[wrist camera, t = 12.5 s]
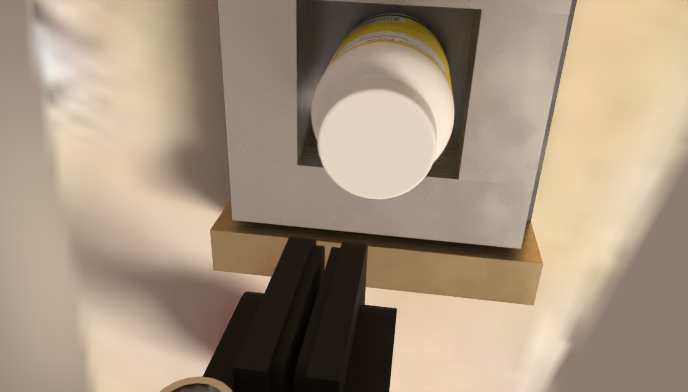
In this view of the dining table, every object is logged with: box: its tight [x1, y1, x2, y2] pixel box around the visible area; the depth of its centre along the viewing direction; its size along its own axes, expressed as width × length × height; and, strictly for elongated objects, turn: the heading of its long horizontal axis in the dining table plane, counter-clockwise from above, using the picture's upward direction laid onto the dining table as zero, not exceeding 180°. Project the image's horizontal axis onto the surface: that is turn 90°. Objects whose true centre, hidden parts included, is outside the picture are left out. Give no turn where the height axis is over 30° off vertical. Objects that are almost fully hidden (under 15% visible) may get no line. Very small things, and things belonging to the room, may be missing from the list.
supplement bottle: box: [311, 13, 454, 199], centre depth 23 cm, size 5×5×10 cm
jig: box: [210, 0, 577, 305], centre depth 27 cm, size 20×16×5 cm
